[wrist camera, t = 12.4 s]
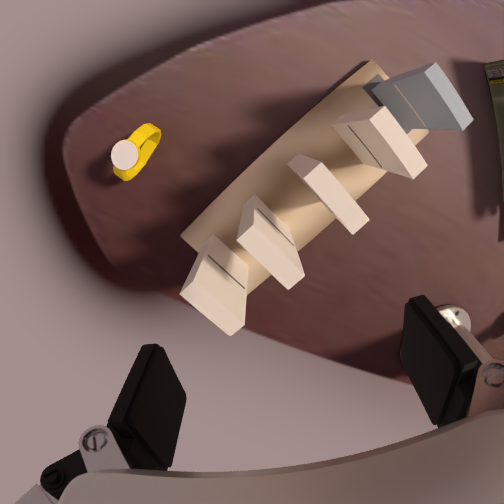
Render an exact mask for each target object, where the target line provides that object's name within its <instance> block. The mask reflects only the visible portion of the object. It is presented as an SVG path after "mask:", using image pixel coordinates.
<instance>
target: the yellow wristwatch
mask: <svg viewBox="0 0 504 504" xmlns="http://www.w3.org/2000/svg"><path fill="white" fill-rule="evenodd" d="M160 138H161V131H160V129H158V128H157V127H155V126H154V125H152V124H151V123H149V124H144V125H142V126H141V127H139V128H138V129H137V130H136V131H134V132H133V134H132V135H131V136H130V137H129V138H128V139H126V140H121V141H119V142H118V143H116V144H115V146H114V147H113V149H112V152H111V159H112V162H113V164H114V167H113V171H114V173H115V175H117V176H118V177H119V178H121V179H122V180H124V181H127V180H130V179H132V178H133V177H134V176H135V175H137V173H139V171H140V170H141V169H142V168H143V167H144V166H145V165H146V162H147V161H148V159H149V157H150V156H151V154H152V153H153V151H154V149H155V148H156V146H157V145H158V143H159V141H160ZM143 143H144V144H143ZM142 144H143V146H142V147H141V149H140V146H141V145H142Z"/></svg>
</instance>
